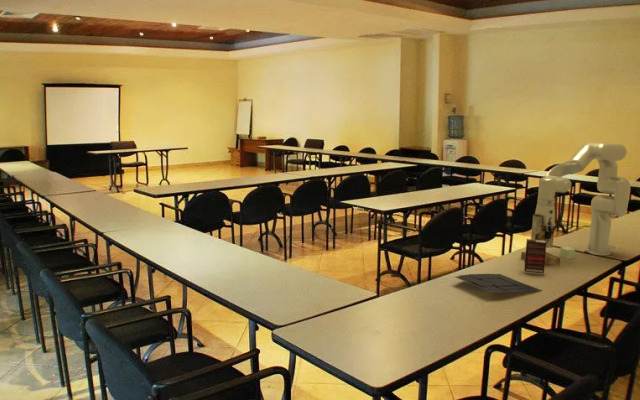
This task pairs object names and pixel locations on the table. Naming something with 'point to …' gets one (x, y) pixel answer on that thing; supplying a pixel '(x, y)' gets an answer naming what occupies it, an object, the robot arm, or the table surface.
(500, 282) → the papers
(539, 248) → the supplement box
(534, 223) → the coffee box
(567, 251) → the sage cube
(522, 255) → the walnut block
